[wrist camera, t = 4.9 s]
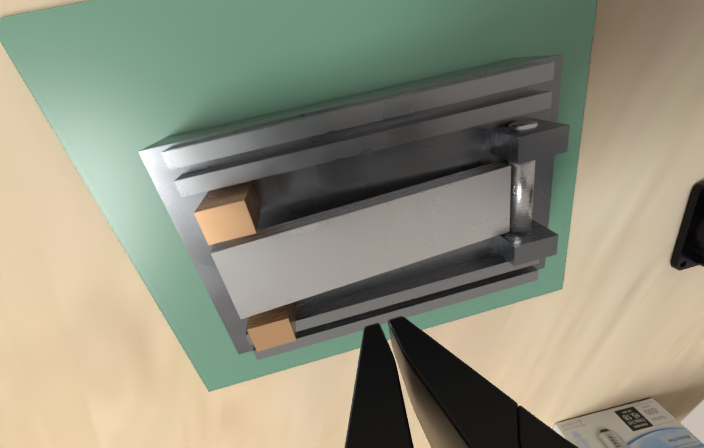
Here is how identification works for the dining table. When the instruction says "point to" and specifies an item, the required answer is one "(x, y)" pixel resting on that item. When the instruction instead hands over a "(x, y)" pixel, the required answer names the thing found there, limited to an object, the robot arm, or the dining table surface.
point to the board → (266, 112)
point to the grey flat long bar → (363, 238)
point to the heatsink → (370, 189)
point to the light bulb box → (628, 428)
